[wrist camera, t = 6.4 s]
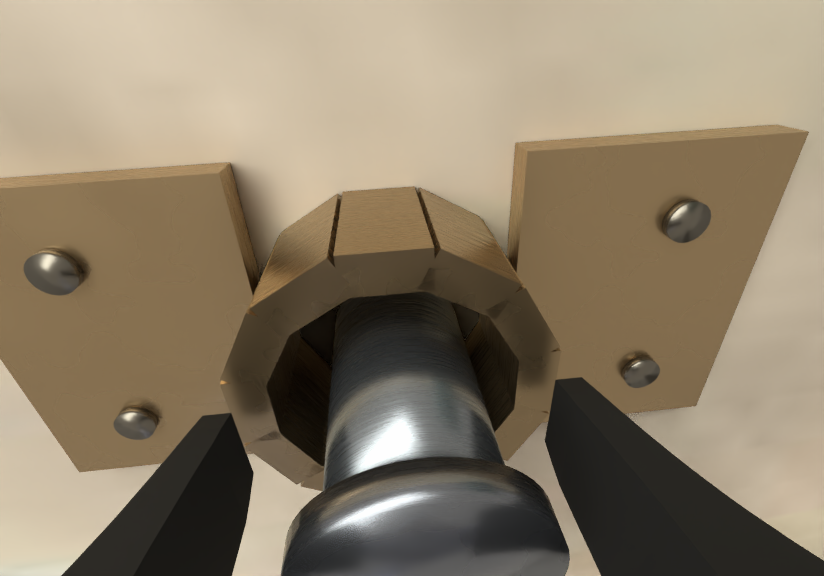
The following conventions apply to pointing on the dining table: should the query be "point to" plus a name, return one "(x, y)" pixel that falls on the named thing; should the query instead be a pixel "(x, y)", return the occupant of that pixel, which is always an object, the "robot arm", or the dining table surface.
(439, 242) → the hinge leaves
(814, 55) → the dining table surface
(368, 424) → the pin
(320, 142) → the dining table surface
